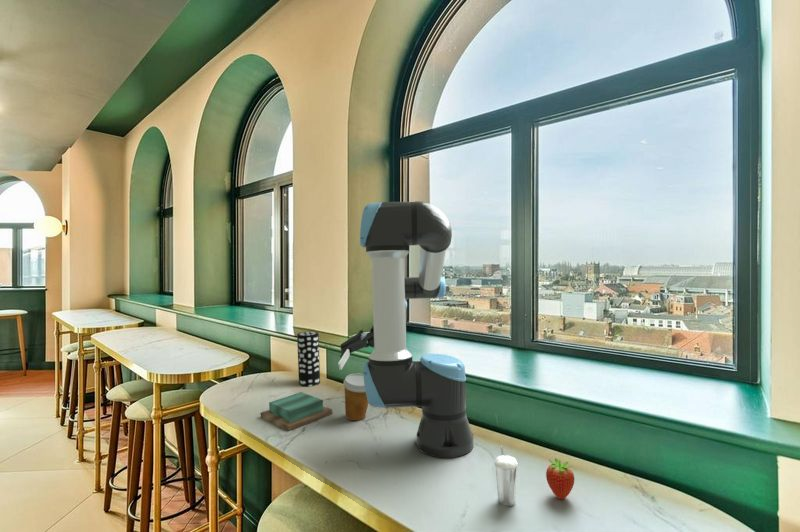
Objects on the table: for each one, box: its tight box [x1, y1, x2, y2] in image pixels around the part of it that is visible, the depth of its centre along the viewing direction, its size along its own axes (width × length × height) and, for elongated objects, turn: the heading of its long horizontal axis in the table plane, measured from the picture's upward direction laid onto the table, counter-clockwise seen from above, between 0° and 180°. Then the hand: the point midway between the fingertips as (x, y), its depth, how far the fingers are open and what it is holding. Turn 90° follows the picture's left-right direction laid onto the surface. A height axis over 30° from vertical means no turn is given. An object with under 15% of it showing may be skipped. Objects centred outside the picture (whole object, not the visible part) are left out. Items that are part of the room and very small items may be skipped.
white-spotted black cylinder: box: [296, 331, 321, 388], centre depth 162 cm, size 8×8×20 cm
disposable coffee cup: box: [342, 373, 369, 421], centre depth 126 cm, size 10×10×12 cm
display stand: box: [260, 391, 333, 432], centre depth 130 cm, size 16×16×5 cm
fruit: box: [545, 457, 575, 500], centre depth 83 cm, size 5×5×8 cm
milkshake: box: [494, 445, 519, 507], centre depth 83 cm, size 4×5×10 cm
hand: (359, 371), depth 123 cm, fingers open, 13 cm apart
